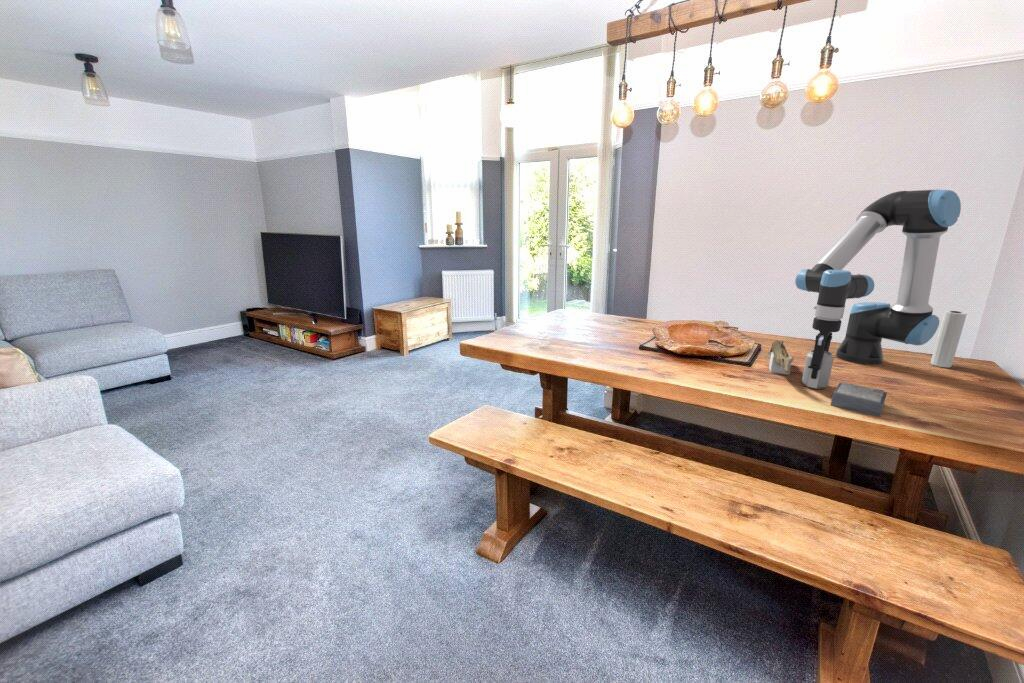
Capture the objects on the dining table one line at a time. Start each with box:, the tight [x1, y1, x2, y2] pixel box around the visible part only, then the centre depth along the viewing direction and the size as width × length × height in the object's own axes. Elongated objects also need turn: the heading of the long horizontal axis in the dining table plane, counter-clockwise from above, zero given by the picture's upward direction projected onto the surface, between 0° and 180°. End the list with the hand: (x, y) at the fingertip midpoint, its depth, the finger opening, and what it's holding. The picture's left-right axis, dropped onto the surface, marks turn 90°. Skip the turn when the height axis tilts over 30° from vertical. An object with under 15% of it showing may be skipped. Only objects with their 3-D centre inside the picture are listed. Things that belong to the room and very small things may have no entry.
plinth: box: [830, 381, 888, 417], centre depth 138 cm, size 12×12×5 cm
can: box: [801, 349, 834, 390], centre depth 152 cm, size 8×8×12 cm
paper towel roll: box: [930, 310, 968, 369], centre depth 173 cm, size 7×6×21 cm
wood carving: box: [764, 340, 794, 376], centre depth 165 cm, size 9×35×11 cm, turn 156°
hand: (814, 383), depth 153 cm, fingers closed on can, 7 cm apart
